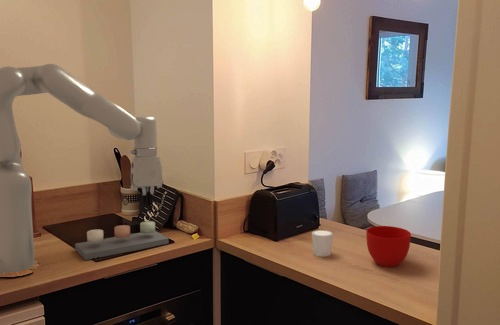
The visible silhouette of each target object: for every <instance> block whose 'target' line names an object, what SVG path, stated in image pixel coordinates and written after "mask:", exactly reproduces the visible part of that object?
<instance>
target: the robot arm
mask: <svg viewBox="0 0 500 325" xmlns="http://www.w3.org/2000/svg"><path fill="white" fill-rule="evenodd" d="M40 94H49V95H50V96H52V97H53V98H55V99H57V100H58V101H59V102H61V103H63V104H64V105H65V106H67V107H68V108H70V109H71V110H72V111H74V112H76V113H77V114H79V115H81V116H83V117H84V118H85V117H86V118H88V119H91V120H93V121H95V122H97V123H99V124H101V125H103V126H104V127H106V128H107V130H108V132H109V134H110V135H111V136H113V137H114V138H117V139H120V140H121V139H122V140H124V141H132V140H133V146H134V147H133V149H130V152H129V153H130V155H133V157H132V160H131V166H130V184H131V185H130V190H132V191H137V192H138V193H139V194H140V196H141V198H140V199H141V200H140V201H141V202H140V203H141V204H142V206H144V207H148V206H149V207H152V204H153V195H154V193H155V192H156V190H157V189H160V188H162V187H163V182H164V179H163V178H164V177H163V176H164V175H163V169H162V168H163V166H162V162H161V158H160V156H159V155H158V146H157V145H158V144H157V142H158V141H157V139H158V138H157V136H158V135H157V134H158V133H157V132H158V131H157V119H156V117H154V116H151V115H150V116H147V115H141V116H133V115H132V114H130V113H129V112H127V111H126V110H125V109H123V108H122V107H121V106H119V105H117V103H114V102H113V101H111V100H110V99H108V98H106V97H104V96H103V95H102V94H100V93H99V92H97V91H95V90H93V89H92V88H91V87H89V86H88V84H85V83H84V82H82V81H81V80H80V79H78V78H77V77H75V76H74V75H73V74H72V73H70V72H68V71H67V70H66V69H64V68H63V67H61V66H59V65H57V64H54V63H47V64H43V65H37V66H36V65H35V66H26V67H24V66H23V67H14V66H9V65H8V66H2V67H0V274H3V273H4V272H5V273H6V272H7V273H9V272H18V271H23V270H27V269H29V268H31V267H33V266H34V265H35V260H36V258H35V257H36V256H35V243H34V241H35V240H34V228H33V223H34V222H33V213H32V212H33V211H32V209H33V208H32V193H33V192H32V189H33V188H32V180H31V178H30V176H29V174H28V173H27V171H26V170H25V169H24V167H23V162H22V157H21V153H20V152H21V150H22V146H21V145H22V144H21V141H20V138H19V135H18V132H17V125H16V122H15V118H14V111H13V103H14V100H15V98H17V97H21V96H31V95H33V96H34V95H40ZM146 188H147V189H146ZM3 275H4V274H3Z"/></svg>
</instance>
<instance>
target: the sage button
mask: <svg viewBox="0 0 500 325" xmlns="http://www.w3.org/2000/svg"><path fill="white" fill-rule="evenodd" d="M139 226H140V227H139V229H140V230H139V231H140V232H139V233H144V234H149V233H154V232H155V231H156V222H155V221H152V220H149V221H148V220H147V221H145V220H144V221H142V222H140V223H139Z"/></svg>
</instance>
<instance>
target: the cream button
mask: <svg viewBox="0 0 500 325" xmlns="http://www.w3.org/2000/svg"><path fill="white" fill-rule="evenodd" d="M86 239H87V241H86V242H89V243H98V242H102V241H103V240H104V239H105V238H104V230H103V229H98V228H97V229H90V230H87V232H86Z"/></svg>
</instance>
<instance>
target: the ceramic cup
mask: <svg viewBox="0 0 500 325" xmlns="http://www.w3.org/2000/svg"><path fill="white" fill-rule="evenodd" d="M365 231H366V235H365V236H366V245H367V246H366V247H367V250H368V253H369V255H370V256H371V258H372V260H373V261H374V262H375V263H376V265H378V266H381V267H384V268H396V267H397V266H399V265H400V264H401V263H402V262H403V261H404V260H405V259H406V257H407V256H408V253H409V250H410V245H411V239H412V233H411V232H410V231H409V230H408V229H405V228H402V227H396V226H391V225H378V226H377V225H376V226H375V225H374V226H371V227H368V228H367V229H366V230H365Z"/></svg>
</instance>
